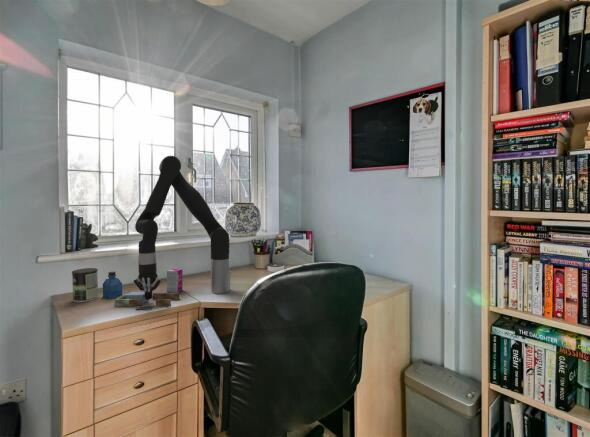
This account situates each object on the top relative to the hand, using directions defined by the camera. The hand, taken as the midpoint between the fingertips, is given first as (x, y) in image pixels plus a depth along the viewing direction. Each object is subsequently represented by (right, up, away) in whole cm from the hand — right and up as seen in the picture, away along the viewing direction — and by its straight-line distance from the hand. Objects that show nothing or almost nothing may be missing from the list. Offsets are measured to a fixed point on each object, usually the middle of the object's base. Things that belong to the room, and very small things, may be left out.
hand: (148, 299), depth 143 cm
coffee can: (-33, -2, +6) cm, 34 cm away
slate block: (-6, -2, +1) cm, 6 cm away
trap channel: (0, -2, 0) cm, 2 cm away
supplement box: (+5, -1, +18) cm, 19 cm away
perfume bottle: (-23, -1, +11) cm, 25 cm away
